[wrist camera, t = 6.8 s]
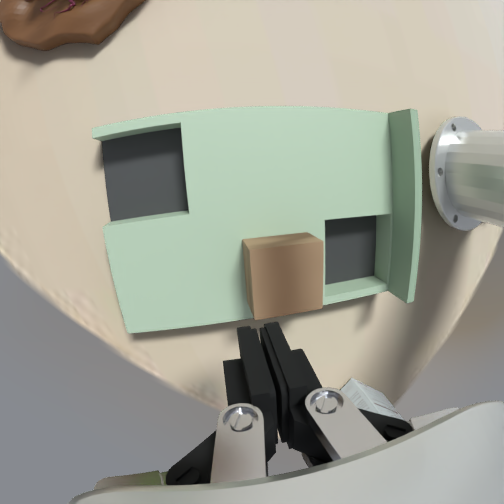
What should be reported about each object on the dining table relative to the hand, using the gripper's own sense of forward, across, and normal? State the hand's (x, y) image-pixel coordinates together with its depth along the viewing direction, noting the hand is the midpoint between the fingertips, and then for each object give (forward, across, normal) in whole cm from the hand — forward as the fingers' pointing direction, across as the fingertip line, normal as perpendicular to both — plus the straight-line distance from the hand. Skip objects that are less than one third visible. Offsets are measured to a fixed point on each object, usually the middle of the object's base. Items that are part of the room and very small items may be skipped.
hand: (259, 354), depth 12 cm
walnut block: (+11, -3, 0) cm, 11 cm away
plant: (+14, +12, -31) cm, 36 cm away
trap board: (+13, -3, -4) cm, 14 cm away
